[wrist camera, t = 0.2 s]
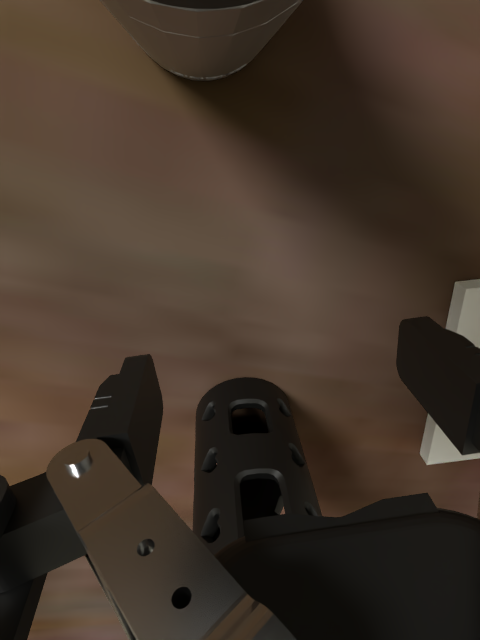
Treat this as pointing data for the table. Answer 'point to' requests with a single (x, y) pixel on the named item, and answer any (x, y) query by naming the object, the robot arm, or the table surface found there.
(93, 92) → the table surface
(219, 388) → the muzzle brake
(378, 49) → the table surface
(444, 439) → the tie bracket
